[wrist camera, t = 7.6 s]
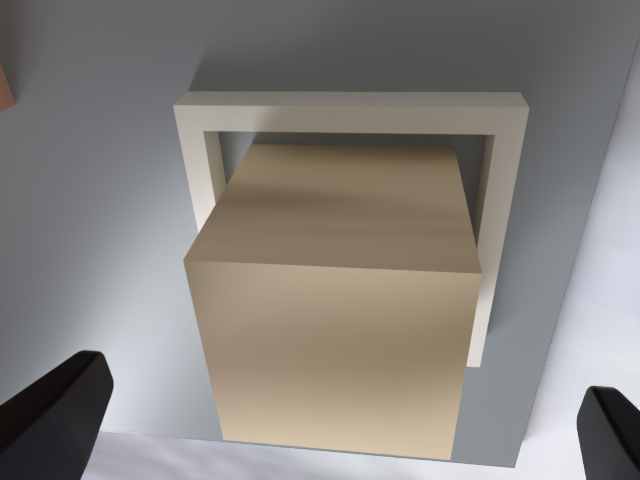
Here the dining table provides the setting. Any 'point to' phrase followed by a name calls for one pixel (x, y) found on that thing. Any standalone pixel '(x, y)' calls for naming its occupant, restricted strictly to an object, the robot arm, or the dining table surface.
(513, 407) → the building board
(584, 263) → the dining table surface
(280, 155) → the maple block
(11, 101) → the terracotta block
